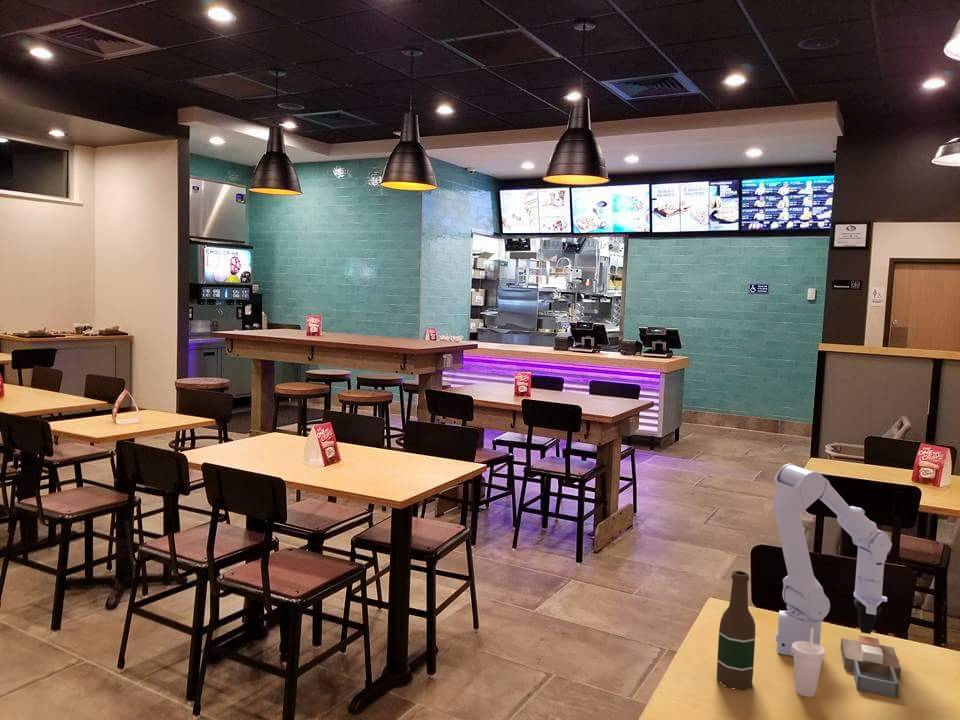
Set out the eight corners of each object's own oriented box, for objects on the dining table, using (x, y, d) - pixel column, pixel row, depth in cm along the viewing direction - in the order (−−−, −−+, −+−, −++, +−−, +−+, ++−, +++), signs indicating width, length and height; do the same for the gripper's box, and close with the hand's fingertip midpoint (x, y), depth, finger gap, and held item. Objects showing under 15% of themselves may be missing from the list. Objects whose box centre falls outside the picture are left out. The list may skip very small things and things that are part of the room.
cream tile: (862, 660, 162) (862, 651, 162) (860, 652, 166) (861, 644, 166) (882, 664, 161) (883, 655, 160) (880, 656, 164) (880, 647, 164)
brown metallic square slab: (844, 668, 163) (845, 658, 163) (840, 648, 173) (841, 637, 173) (900, 679, 159) (901, 668, 159) (892, 657, 169) (893, 647, 169)
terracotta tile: (859, 650, 167) (860, 642, 167) (858, 643, 170) (858, 635, 170) (879, 654, 165) (880, 645, 165) (877, 646, 169) (878, 638, 169)
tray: (856, 689, 154) (857, 676, 154) (852, 670, 162) (853, 657, 162) (897, 698, 151) (898, 684, 151) (891, 678, 159) (892, 664, 159)
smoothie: (825, 702, 149) (830, 636, 148) (792, 698, 150) (796, 632, 149) (817, 686, 155) (821, 622, 154) (785, 682, 156) (789, 619, 155)
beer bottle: (725, 669, 161) (731, 563, 160) (760, 682, 156) (766, 573, 154) (708, 681, 156) (714, 572, 154) (743, 695, 150) (749, 582, 149)
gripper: (892, 590, 165) (888, 648, 166) (884, 570, 179) (880, 623, 180) (858, 585, 168) (854, 642, 169) (852, 565, 181) (848, 618, 182)
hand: (865, 632), depth 174 cm, fingers closed
